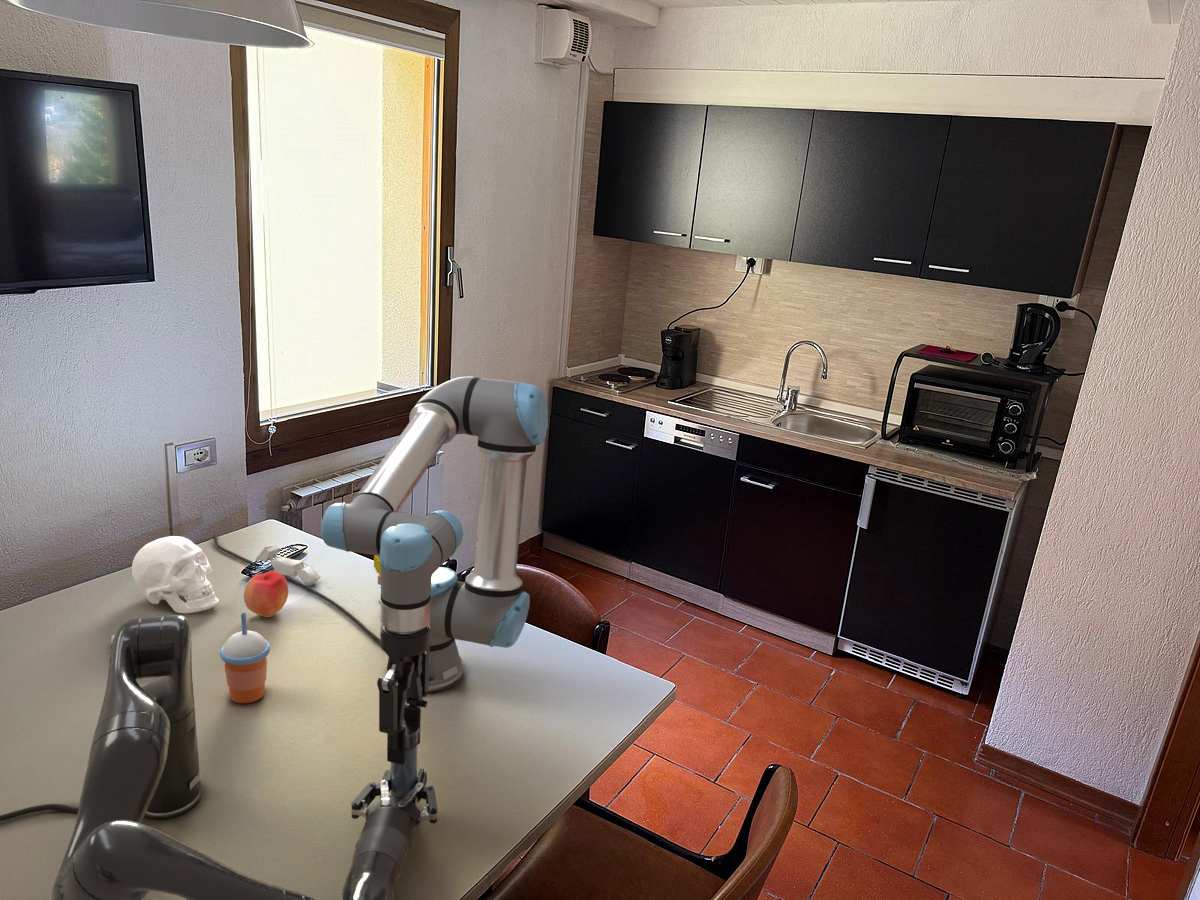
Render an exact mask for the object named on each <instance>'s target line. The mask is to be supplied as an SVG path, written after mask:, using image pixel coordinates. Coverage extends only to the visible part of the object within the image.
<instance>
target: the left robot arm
mask: <svg viewBox="0 0 1200 900" xmlns="http://www.w3.org/2000/svg"><path fill="white" fill-rule="evenodd" d="M113 635H114V639H113V643H111V650H110V657H109V665H108V673H107V680H106V687H105V693H104V697H103V700H102V705H101V709H100V713H99V716H98V720H97V724H96V727H95V730H94V733H93V738H92V741H91V747H90V750H89V754H88V760H87V766H86V770H85V776H84V779H83V785H82V788H81V794H80V800H79V803H78V804H79V805H78V807H76V806H71V805H66V804H61V803H46V804H40V805H35V806H34V805H33V806H30V807H25V808H22V809H18V810H14V811H11V812H8V813H3V814H0V822H3V821H7V820H11V819H13V818H17V817H21V816H25V815H28V814H32V813H37V812H43V811H44V812H45V811H60V812H64V813H70V814H76V815H77V816H76V820H75V825H74V828H73V832H72V835H71V838H70V840H69V843H68V846H67V848H66V851H65V853H64V856H63V859H62V862H61V864H60V867H59V870H58V871H57V875H56V877H55V880H54V882H53V885H52V889H51V895H50V896H51V899H50V900H144V899H145V897H146V896H147V894H148V893H149V892H158V893H164V894H170V895H174V896H178V897H181V898H183V899H184V900H316V898H314V897H313V896H310V895H308V894H304V893H300V892H299V891H294V890H292V889H288V888H284V887H281V886H279V885H275V884H271V883H269V882H265V881H263V880H260V879H256V878H255V877H251V876H249V875H247V874H244V873H242V872H240V871H238V870H236V869H234V868H232V867H230V866H228V865H226V864H224V863H222V862H221V861H219V860H217V859H215V858H213V857H211V856H210V855H208V854H206V853H204V852H202V851H200V850H199V849H196V848H194V847H193V846H190V845H188V844H187V843H185V842H183V841H181V840H179V839H177V838H175V837H173V836H171V835H170V834H168V833H166V832H164V831H162V830H160V829H158V828H155V827H153V826H151V825H148V824H146V823H143V822H142V821H143V820H144V818H145V817H147V818H149V819H155V820H163V819H170V818H173V817H176V816H180V815H182V814H184V813H186V812H188V811H189V810H191V809H192V808H194V806H196V805H197V804H198V802H199V801H200V800H201V797H202V792H203V791H202V783H201V773H200V761H199V746H198V733H197V720H196V709H195V708H196V707H195V696H194V682H193V642H192V641H193V640H192V639H193V638H192V637H193V636H192V628H191V624H190V622H189V620H188V618H187V617H186V615H184V614H183V615H182V614H171V615H161V616H160V615H159V616H158V615H157V616H149V617H139V618H137V617H136V618H132V619H128V620H125V621H123V622H121V623H120V624H119V626H117V628H116V630H115V633H114V634H113ZM151 678H158V679H155V680H154V681H151V682H149V683H147V684H145V685H143V686H142V687H141V685H140V684H139V683H138V680H142V679H151ZM427 783H428V773H427V771H425V768H419V769H418V771H417V779H416V782H415V786H414V788H413V789H412V790H411V789H410V790H409V792H408V793H407V794H406V795H405V796H400V797H397V796H393V795H391V794H390V793H391V766H390V767H389V769H386V770H385V771H384V774H383V775H382V779H381V781H380V782H379V783H376V782H374V781H370V782H368V784H367V785H366V786H365V787H364V788H363V789H362V791H360V792H359V794H358V795H357V796H356V797H355V799H353V800H352V802H351V803H350V804H351V819H354V820H356V819H359V818H360V817H363V818H364V819H365V821H364V824H363V827H362V830H361V832H360V835H359V837H358V840H357V841H356V844H355V847H354V852H353V855H352V861H351V865H350V867H349V871H348V873H347V875H346V879H345V881H344V884H343V887H342V894H341V897H342V900H394V895H395V891H396V888H397V886H398V882H399V878H400V876H401V873H402V871H403V869H404V867H405V864H406V860H407V857H408V854H409V850H410V846H411V843H412V840H413V837H414V833H415V829H416V827H417V826H419V825H420V823H421V822H424V821H428V822H429V823H430V824H432V825H433V824H436V823H437V822H438V803H437V798H436V792H435V787H434V786H433V785H428V786H426V785H427ZM377 797H380V798H379V800H378V801H376V802H375V803H374V804H372V803H373V802H374V800H375V799H376V798H377ZM422 800H425V806H424V807H423V810H421V811H420V809H419V808H418V806H419V804H420V803H421V801H422ZM371 804H372V805H371Z"/></svg>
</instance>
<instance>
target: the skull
mask: <svg viewBox="0 0 1200 900" xmlns="http://www.w3.org/2000/svg"><path fill="white" fill-rule="evenodd" d="M131 574H132V579H133V581H134V583H135V585H136V586H137V588H138V589H139V590H140V591H141V593H142V594H143V596H144V597H145V598H146V599H147V601H149V602H150V603H151V605H153V604H154V605H159V603H160V601H166V603H168V605H169V607H171V608H172V610H173V612H175V613H177V614H183V615H185V614H193V613H199V612H202V611H206V610H209V609H211V608H214V607H216V606H218V604H219V603H220V601H219V600H220V599H219V598H218V597H217V596H216V593H215V591H214V590H213V588H214V586H213V585H212V583H211V582H210V581H209V579H208V578H207V577H208V575H210V574H212V567H211V564H210V562H209V560H208V558H207V555H206V554H205V552H204V551H203V549H201V548H200V547H199V546H198V545H196V544H195V543H194V542H193V541H192V540H191V539H189V538H187V537H184V536H181V535H180V536H178V535H169V536H164V537H160V538H157V539H154V540H152V541H150V542H148V543H146V544H144V545H143V546H142V547H141V548H140V549H139V550H138V551H137V553H136V554H135V556H134V557H133V560H132V564H131ZM177 593H178V594H177ZM179 596H181V597H184V600H185V601H184V600H182V599H181V598H180V597H179ZM180 610H182V611H180ZM191 610H192V611H191Z"/></svg>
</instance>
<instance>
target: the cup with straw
mask: <svg viewBox="0 0 1200 900" xmlns="http://www.w3.org/2000/svg"><path fill="white" fill-rule="evenodd" d="M240 620H241V622H240V623H241V631H238V632H236V633H234V634H232V635H230V636H229V638H228V639H227V640H226V641H225V643H224V644H223V645H222V646H221V648H220V651H219V656H220V659H221V661H222V662H224V663H223V667H224V673H225V678H226V684H227V686H228V689H229V695H230V698H231V700H232V701H233V702H235V703H237V704H250V703H255V702H256V701H258V700H260V699H262V698H263V696H264V694H265V685H266V681H267V672H268V671H267V670H268V656H269V655H270V652H271V644H270V643H269V641H268V640H267V639H265V638H264V636H263V635H261V634H260V633H259V632H257V631H255V630H249V629H248V625H247V613H246V612H242V613H240Z"/></svg>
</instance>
